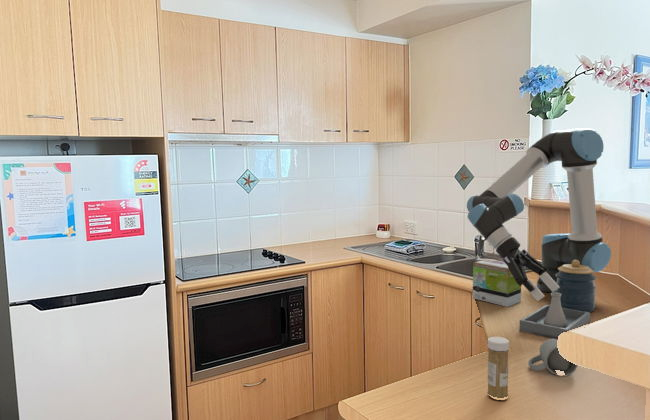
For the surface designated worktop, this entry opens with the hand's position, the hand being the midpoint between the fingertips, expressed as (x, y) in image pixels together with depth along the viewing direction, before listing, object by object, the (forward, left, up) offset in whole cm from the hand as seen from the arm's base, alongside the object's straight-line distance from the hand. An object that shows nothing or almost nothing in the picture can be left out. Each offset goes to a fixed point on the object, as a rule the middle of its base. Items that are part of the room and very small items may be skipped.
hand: (549, 294), depth 157 cm
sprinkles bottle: (+57, +9, -11) cm, 58 cm away
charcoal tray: (0, +2, -10) cm, 11 cm away
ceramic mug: (+34, +13, -11) cm, 38 cm away
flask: (0, +2, -10) cm, 10 cm away
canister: (-25, 0, -11) cm, 27 cm away
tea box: (-17, -25, -11) cm, 32 cm away
